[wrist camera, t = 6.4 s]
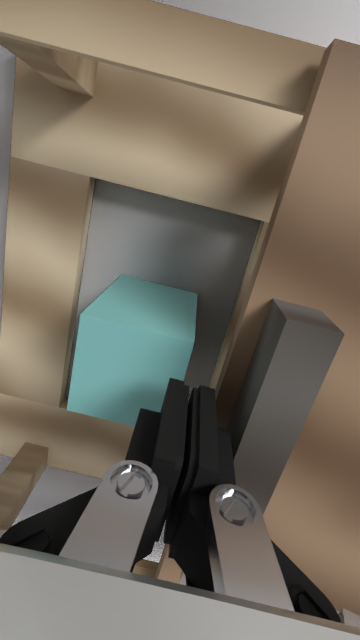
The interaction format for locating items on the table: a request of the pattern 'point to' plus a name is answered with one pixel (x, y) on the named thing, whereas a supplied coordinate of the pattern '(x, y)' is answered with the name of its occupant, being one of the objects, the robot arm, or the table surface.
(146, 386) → the teal block
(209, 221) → the table surface
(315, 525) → the walnut lid
